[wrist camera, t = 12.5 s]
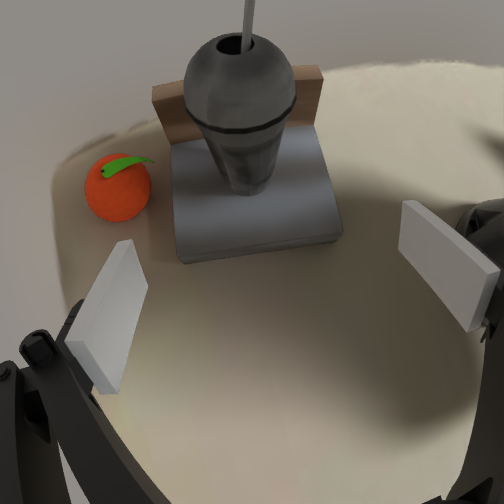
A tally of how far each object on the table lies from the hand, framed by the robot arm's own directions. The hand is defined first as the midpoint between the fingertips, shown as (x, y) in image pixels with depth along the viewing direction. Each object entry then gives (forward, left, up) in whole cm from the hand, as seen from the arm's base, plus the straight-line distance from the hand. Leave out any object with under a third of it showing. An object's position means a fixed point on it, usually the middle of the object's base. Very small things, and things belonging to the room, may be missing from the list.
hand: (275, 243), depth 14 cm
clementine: (+13, -12, -16) cm, 23 cm away
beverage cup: (0, -11, -12) cm, 16 cm away
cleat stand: (0, -10, -15) cm, 18 cm away
